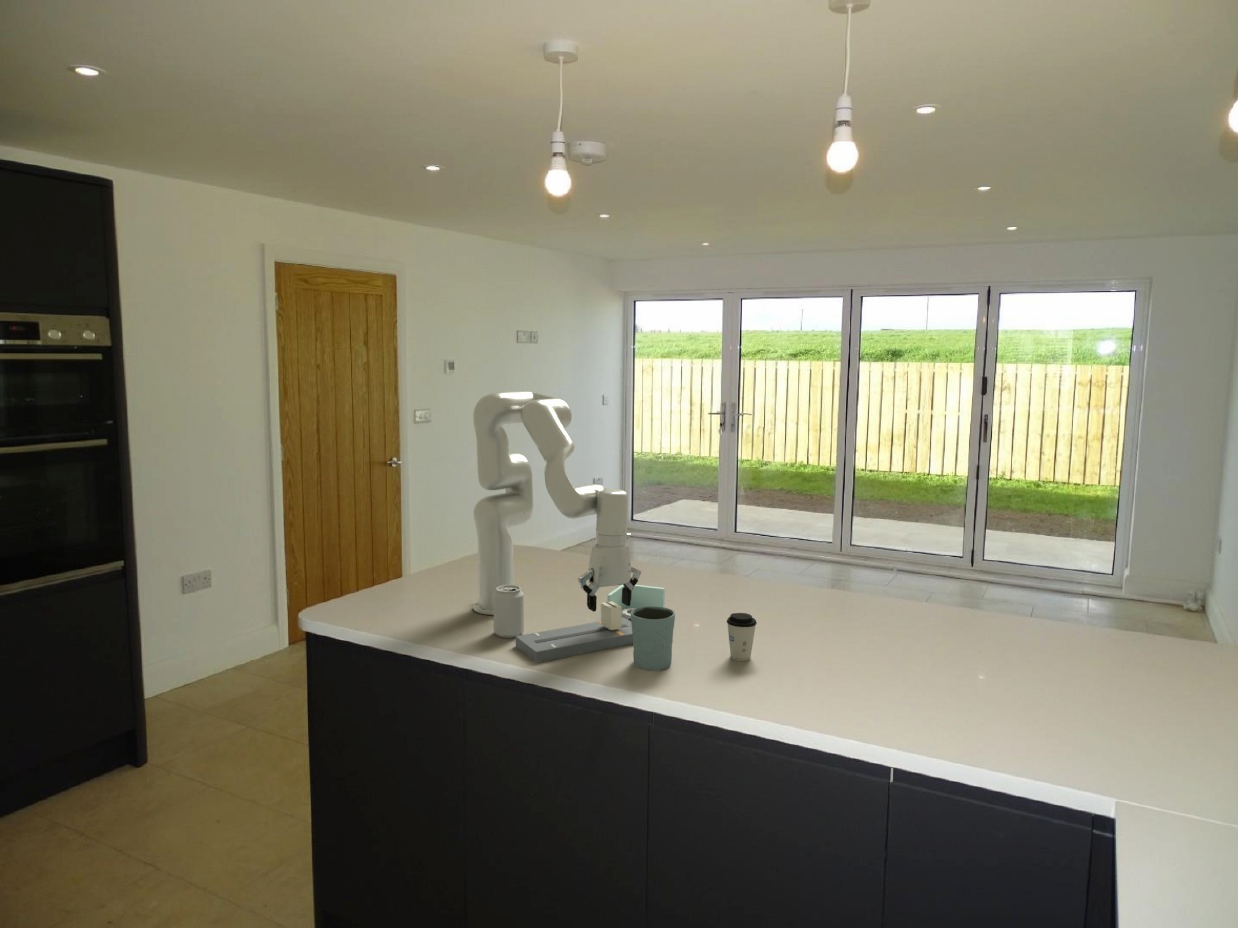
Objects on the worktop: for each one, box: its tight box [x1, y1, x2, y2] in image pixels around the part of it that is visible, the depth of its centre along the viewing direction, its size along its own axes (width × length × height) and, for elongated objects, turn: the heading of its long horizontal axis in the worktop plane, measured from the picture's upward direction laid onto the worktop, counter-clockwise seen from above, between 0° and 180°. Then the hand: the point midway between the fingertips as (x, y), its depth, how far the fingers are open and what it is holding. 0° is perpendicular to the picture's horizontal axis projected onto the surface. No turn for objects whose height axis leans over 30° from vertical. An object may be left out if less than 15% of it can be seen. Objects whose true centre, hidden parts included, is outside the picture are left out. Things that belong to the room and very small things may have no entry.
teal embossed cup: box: [630, 606, 676, 671], centre depth 187 cm, size 10×10×12 cm
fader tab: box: [600, 601, 622, 630], centre depth 203 cm, size 5×3×6 cm, turn 30°
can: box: [493, 584, 525, 639], centre depth 206 cm, size 8×8×12 cm
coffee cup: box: [726, 612, 758, 662], centre depth 191 cm, size 7×7×10 cm
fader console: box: [515, 617, 633, 663], centre depth 200 cm, size 12×30×3 cm, turn 120°
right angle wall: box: [606, 584, 666, 619], centre depth 221 cm, size 12×12×8 cm
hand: (609, 607), depth 203 cm, fingers open, 9 cm apart
